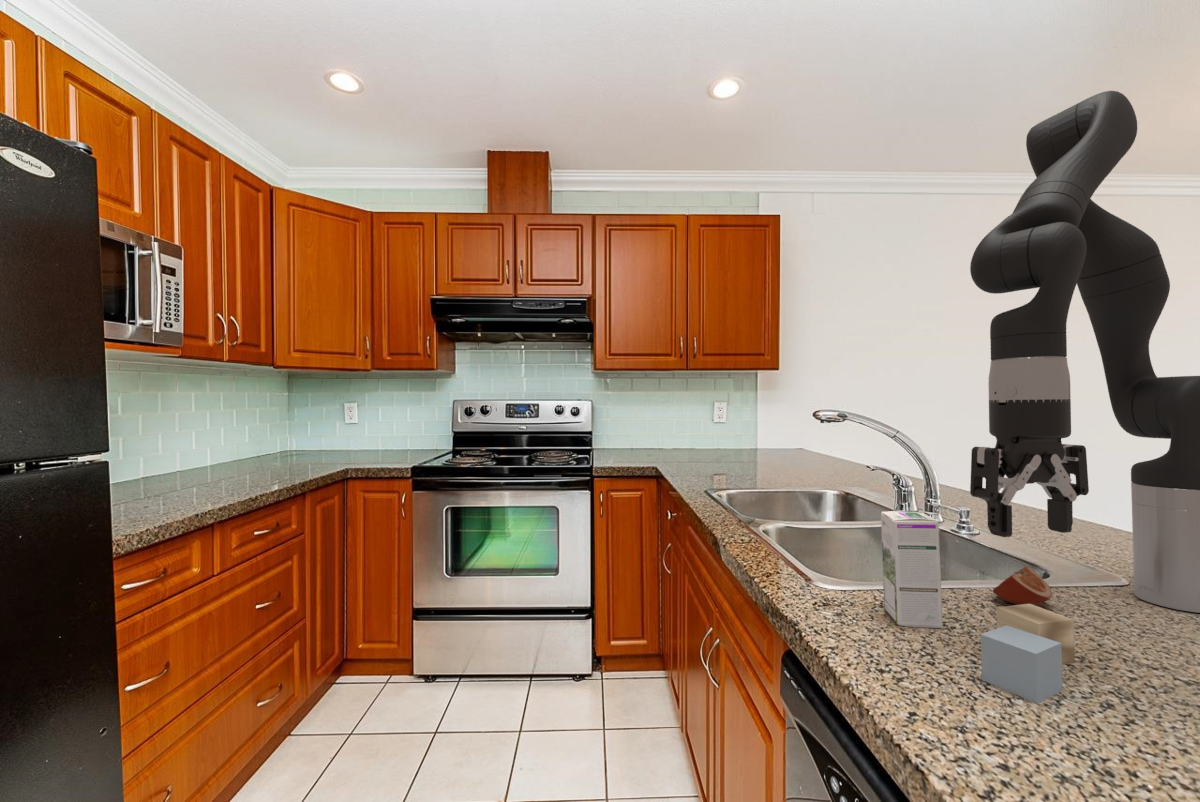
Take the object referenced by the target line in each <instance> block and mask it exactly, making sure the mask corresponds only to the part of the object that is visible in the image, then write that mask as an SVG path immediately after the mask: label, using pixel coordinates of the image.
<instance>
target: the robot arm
mask: <svg viewBox="0 0 1200 802" xmlns="http://www.w3.org/2000/svg"><path fill="white" fill-rule="evenodd" d="M1137 134H1138V120H1137V115H1136V112H1135V108H1134V107H1133V105H1132V103H1131V101H1130V99H1128V98H1127V96H1125V94H1123V93H1122V92H1119V91H1118V90H1107V91H1102V92H1100V93H1097V94H1094V95H1092V96H1090V97H1088V98H1085V99H1083V100H1082V101H1079V102H1077V103H1076V104H1074V105H1072V106H1069V107H1068V108H1066V109H1064V110H1062V111H1059V112H1058V113H1056V114H1053V115H1052V116H1050V117H1047V118H1046V119H1044V120H1042V121H1039V122H1038V123H1037V124H1035V125H1034V126H1033V127H1031V128H1029V131H1028V132H1027V134H1026V141H1025V142H1026V143H1025V145H1026V152H1027V156H1028V160H1029V163H1030V165H1031V168H1032V170H1033V173H1034V175H1035V177H1036V178H1035V179H1034V180H1033V181H1032V182H1031V183H1030V184H1029V185H1028V186H1027V188H1026V189H1025V190H1024V192H1023V194H1022V195H1021V196H1020V198H1019V200H1018V202H1017V203H1016V206H1015V208H1014V209H1013V211H1012V213H1011V214H1010V215H1008V216H1006V217H1005V218H1004V219H1003V220H1002V221H1001V222H1000V223H998V224H997V225H996V226H995V227H994V228H993V229H992V230H990V231H989V232H988V233H987V234H986V235H985V236H984V237H983V238H982V239H981V241H980V242H979V244H978V245H977V246H976V248H974V249H975V250H974V251H973V254H972V257H971V259H970V266H969V267H970V269H969V270H970V276H971V279H972V281H973V283H974V284H975V286H976V287H977V288H979V289H980V290H981V291H984V292H986V293H989V294H994V295H995V294H996V295H997V294H1005V293H1012V292H1017V291H1024V290H1031V289H1037V288H1038V290H1037V291H1036V293H1035V295H1034V297H1033V298H1032V299H1031V300H1030V301H1029V302H1028V303H1024V304H1023V305H1021V306H1019V307H1016V308H1015V307H1014V308H1013V309H1009V310H1006V311H1003V312H1001V313H998V314H996V315H995V316H994V317H993V318H992V320H991V322H990V329H989V331H990V332H989V337H990V338H989V339H990V367H989V373H988V424H989V426H988V429H989V430H988V431H989V434H990V435H991V436H993V437H995V439H996V444H995V446H994V447H989V446H988V447H987V446H974V447H972V448H971V455H970V456H971V460H970V461H971V462H970V464H971V465H970V487H969V491H970V492H969V494H970V495H971V496H972V497H974V498H979V499H981V500H983V501H985V502H986V504H987V506H986V507H987V510H986V511H987V527H988V530H989V531H990V532H989V533H990V534H992V535H995V536H997V537H1001V538H1011V537H1012V536H1013V506H1012V505H1011V504H1010V503H1011V502H1012V500H1013V498H1015V495H1016V493H1017V492H1019V491H1022V490H1023V489H1024V488H1025V486H1026V484H1027V485H1028V484H1029V485H1030V484H1031V485H1032V484H1035V483H1036V484H1037V485H1039V486H1041V487H1042V489H1043V491H1044V492H1045V494H1046V495H1047V497H1049V498H1047V500H1046V501H1047V508H1046V510H1047V527H1048V529H1049V530H1051V531H1054V532H1057V533H1062V534H1065V533H1071V532H1072V529H1073V523H1074V520H1073V519H1074V518H1073V515H1074V514H1073V511H1074V510H1073V502H1075V501H1076V500H1077V498H1078V497H1079V496H1086V495H1088V494H1089V491H1090V490H1089V474H1088V461H1087V458H1088V457H1087V448H1086V446H1085V445H1081V444H1080V445H1079V444H1066V443H1063V442H1062V439H1066V438H1069V437H1070V436H1071V435H1072V411H1071V410H1072V407H1071V406H1072V403H1071V402H1072V401H1071V376H1070V375H1071V374H1070V371H1069V365H1068V355H1067V354H1068V352H1067V350H1068V349H1067V348H1068V347H1067V322H1068V321H1067V320H1068V317H1069V316H1068V315H1069V310H1070V306H1071V303H1072V299H1073V295H1074V293H1075V290H1076V286H1077V288H1078V291H1079V294H1080V296H1081V299H1082V302H1083V305H1084V307H1085V309H1086V312H1087V314H1088V317H1089V320H1090V323H1091V326H1092V329H1093V333H1094V335H1095V339H1096V342H1097V345H1098V350H1099V353H1100V354H1099V355H1100V356H1101V361H1102V367H1103V371H1104V376H1105V377H1104V378H1105V382H1106V386H1107V392H1108V396H1109V401H1110V405H1111V408H1112V412H1113V414H1114V417H1115V419H1116V421H1117V423H1118V424H1119V427H1121V429H1123V430H1124V431H1125V432H1126V433H1127V434H1129V435H1131V436H1134V437H1138V438H1146V439H1147V438H1149V439H1165V440H1166V439H1168V440H1169V439H1170V444H1169V449H1168V451H1167V452H1166V453H1164V454H1163V455H1160V456H1159V457H1157V458H1153V459H1150V460H1149V459H1148V460H1145V461H1140V462H1137V463H1135V464H1133V465H1132V467H1131V468H1130V481H1131V482H1130V488H1131V516H1132V517H1131V518H1132V519H1131V520H1132V521H1131V524H1132V562H1133V566H1132V567H1133V569H1132V570H1133V571H1132V572H1133V594H1134V596H1135V597H1136V598H1138V599H1140V600H1142V601H1145V602H1147V603H1151V604H1152V605H1153V604H1154V605H1156V606H1157V605H1158V606H1161V607H1165V608H1169V609H1173V610H1178V611H1184V612H1191V613H1198V614H1200V375H1183V376H1164V377H1163V376H1162V377H1160V376H1159V377H1158V376H1157V375H1156V373H1155V371H1154V367H1153V365H1152V364H1153V363H1152V361H1151V355H1150V340H1151V337H1152V334H1153V331H1154V329H1155V327H1156V325H1157V322H1158V321H1159V318H1160V316H1161V315H1162V312H1163V310H1164V309H1165V308H1164V307H1165V305H1166V303H1167V300H1168V298H1169V294H1170V291H1171V290H1170V289H1171V281H1170V277H1169V275H1168V271H1167V268H1166V265H1165V263H1164V258H1163V256H1162V253H1161V251H1160V247H1159V245H1158V243H1157V242H1156V241H1155V240H1154V239H1153V238H1152V237H1151V236H1150V235H1149V234H1147V233H1146V232H1145V231H1143V230H1142V229H1140V228H1138V227H1137V226H1135V225H1134V224H1131V223H1129V222H1128V221H1126V220H1124V219H1122V218H1120V217H1118V216H1116V215H1115V214H1112V213H1110V212H1109V211H1107V210H1106V209H1104V208H1103V207H1102V206H1100V205H1098V204H1097V203H1096V202H1095V201H1094V200H1092V197H1093V195H1094V193H1095V192H1096V191H1097V189H1098V188H1099V186H1100V185H1101V184H1102V183H1103V181H1104V180H1105V179H1106V178H1107V176H1109V175H1110V173H1111V172H1112V171H1113V169H1114V168H1115V167H1116V166H1117V165H1118V164H1119V162H1120V161H1121V159H1123V157H1124V156H1125V155H1126V154H1127V153H1128V152H1129V150H1131V147H1132V146H1133V145H1134V143H1135V140H1136V138H1137ZM1071 475H1074V476H1075V483H1072V478H1071ZM1005 476H1006V477H1005ZM984 479H985V487H983V484H984V483H983V480H984ZM1001 489H1002V491H1001V492H1000V490H1001Z"/></svg>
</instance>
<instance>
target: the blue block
mask: <svg viewBox="0 0 1200 802" xmlns="http://www.w3.org/2000/svg"><path fill="white" fill-rule="evenodd" d="M980 653H981V655H980V656H981V681H983V682H985V683H987V684H990V685H992V686H995V687H996V688H1000V689H1001V690H1003V691H1007V692H1009V693H1012V694H1013V695H1015V696H1019V697H1021V698H1023V699H1025V700H1028V701H1030V702H1033V703H1035V704H1040V703H1042V702H1043V701H1045V700H1047V699H1049V698H1051V697H1053V696H1055V695H1057V694H1059V693H1060V692H1063V665H1062V651H1061V643H1060V642H1056V641H1053V640H1050V639H1047V638H1044V637H1041V636H1038V635H1035V634H1032V633H1029V632H1026V631H1022V630H1019V629H1016V628H1013V627H1010V626H1007V625H1005V626H1003V627H1000V628H997V627H996V628H995V629H992V630H989V631H986V632H984V633H981V634H980Z"/></svg>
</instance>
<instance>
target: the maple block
mask: <svg viewBox="0 0 1200 802" xmlns="http://www.w3.org/2000/svg"><path fill="white" fill-rule="evenodd" d="M995 609H996V629H997V628H1000V627H1003V626H1005V625H1007V626H1010V627H1013V628H1016V629H1019V630H1022V631H1026V632H1029V633H1032V634H1035V635H1038V636H1041V637H1044V638H1047V639H1050V640H1053V641H1056V642H1060V643H1061V651H1062V666H1063V665H1068V664H1067V663H1070V664H1075V662H1076V657H1075V655H1076V654H1075V651H1076V649H1075V648H1076V647H1075V620H1074V618H1070V617H1067V616H1064V615H1062V614H1059V613H1057V612H1054V611H1052V610H1051V611H1050V610H1049V609H1045V608H1044V607H1040V606H1037V605H1036V604H1034V605H1032V604H1022V605H1017V604H1013V605H1004V606H998V607H996V608H995Z"/></svg>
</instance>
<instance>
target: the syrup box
mask: <svg viewBox="0 0 1200 802" xmlns="http://www.w3.org/2000/svg"><path fill="white" fill-rule="evenodd" d="M880 518H881V521H880V523H881V528H880V529H881V548H882V551H881V552H882V582H883V584H882V586H883V610H884V611H885V612H886V613H887V614H888V615H889V617H890V618H891V619H892V620H893V622H895V624H896V625H898V626H901V627H912V628H924V629H925V628H926V629H927V628H928V629H943V603H942V601H943V600H942V577H941V574H942V573H941V554H940V553H941V552H940V551H941V550H940V533H939V532H940V528H939V520H937V519H936V518H933V517H931V516H929V515H928V514H926V513H924V512H922V511H921V512H920V511H912V510H911V511H910V510H890V511H889V510H888V511H881V513H880Z"/></svg>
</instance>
